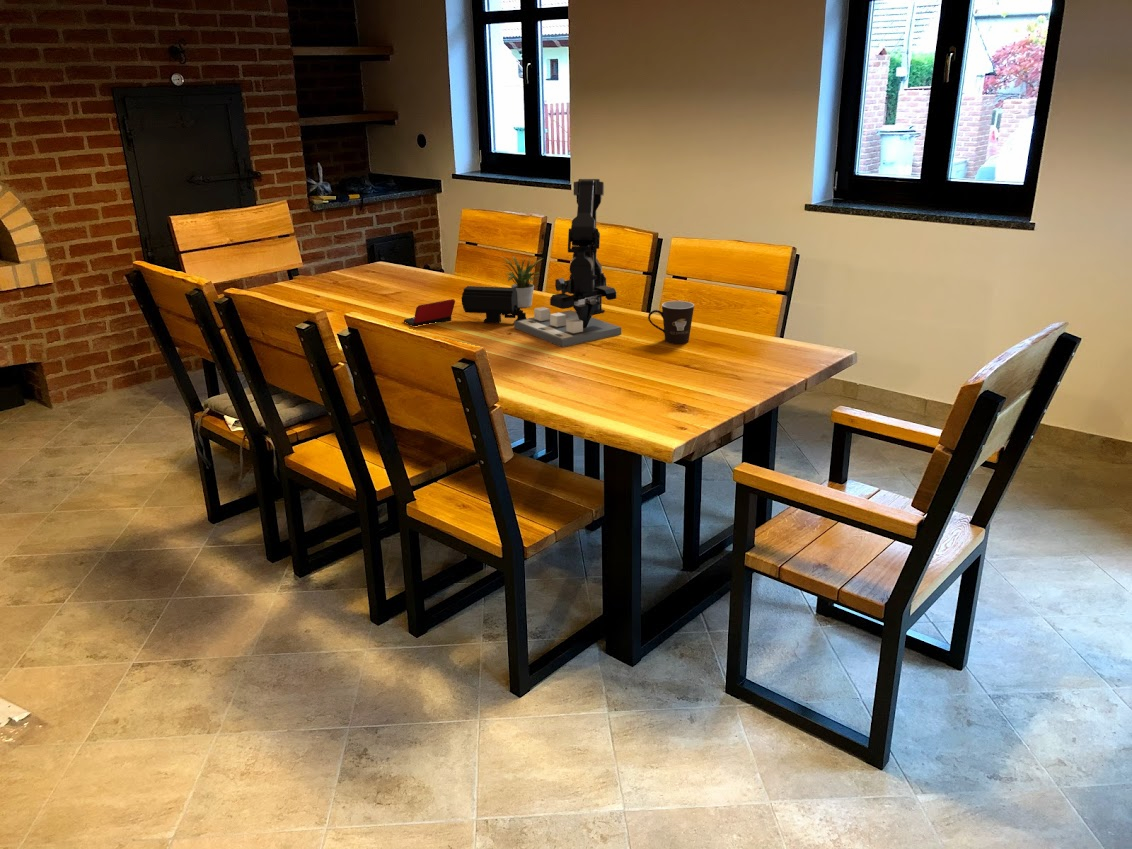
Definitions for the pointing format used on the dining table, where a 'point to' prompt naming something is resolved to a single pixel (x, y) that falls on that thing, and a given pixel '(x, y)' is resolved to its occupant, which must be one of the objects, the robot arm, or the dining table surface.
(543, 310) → the tab
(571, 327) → the tab
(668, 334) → the coffee mug
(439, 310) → the handheld game console
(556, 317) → the tab
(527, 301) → the house plant
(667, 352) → the dining table surface
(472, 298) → the security camera
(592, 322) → the switch bank
